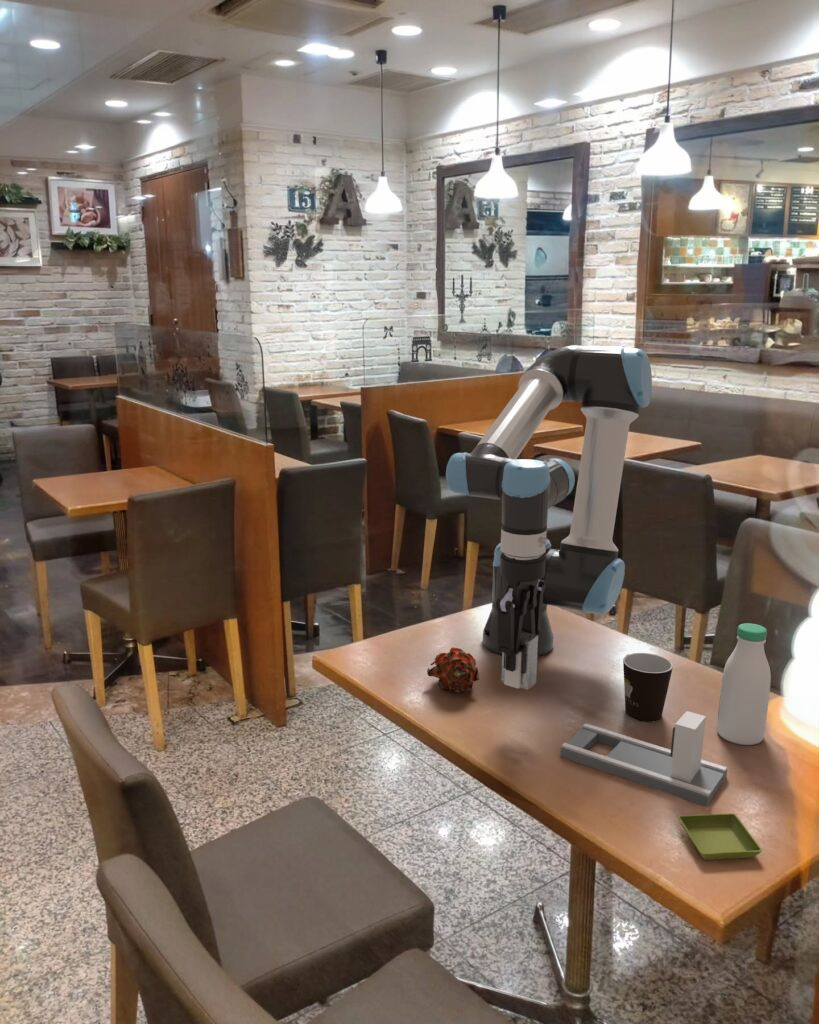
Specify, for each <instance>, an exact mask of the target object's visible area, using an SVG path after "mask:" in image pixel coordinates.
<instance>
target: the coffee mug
mask: <svg viewBox="0 0 819 1024" xmlns="http://www.w3.org/2000/svg"><path fill="white" fill-rule="evenodd" d="M622 663H623V664H622V665H623V687H624V708H625V715H627V716H628V717H629V718H630V719H632V720H635V721H638V722H642V723H653V721H655V722H657V720H658V721H660V720H661V718H662V716H663V712H664V708H665V703H666V700H667V695H668V689H669V686H670V680H671V677H672V673H673V669H674V668H673V667H674V665H673V663H672V661H671V660H670V659H668V658H666V657H664V656H662V655H658V654H656V653H648V652H634V653H630V654H626V655H625V656H624V657H623V659H622Z"/></svg>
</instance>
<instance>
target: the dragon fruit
mask: <svg viewBox="0 0 819 1024" xmlns="http://www.w3.org/2000/svg"><path fill="white" fill-rule="evenodd" d="M432 660H433V659H432ZM432 660H430V661H432ZM434 664H435V666H433V665H434ZM476 665H477V662H476V659H475V658H474V657H473V655H472V654H471V653H469V652H468V653H466V651H464V650H463V649H461V648H458V647H454V646H453V647H451V648H450V649H449V652H440V653H439V654H437V655H436V657H434V661H433V662H432V663H431V664H430V666H433V667H432V668H430V667H429V668H427V669H426V674H427V676H429V677H435V678H436V679H437V678H438V682H437V686H439V687H440V688H441V689H443V690H445V689H449V690H450V691H451V692H453V693H454V692H455V693H463V692H464V691H466V692H468V691H470V690H472V689H473V686H474V682H477V681H478V680H480V675H479V670H478V669H479V668H478V667H477V666H476Z"/></svg>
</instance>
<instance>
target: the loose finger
mask: <svg viewBox="0 0 819 1024" xmlns="http://www.w3.org/2000/svg"><path fill="white" fill-rule="evenodd" d="M537 651H538V635H535V634H531V633H527V632H524V631H521V638H520V646H519V652H522V654H521V681H520V688H521V689H525V690H527V691H528V690H529V689H531V688H532V687H533V686H534V685H536V684H537V674H538V673H537V671H538V669H537V667H538V656H537ZM504 679H505V653H504V652H502V655H501V679H500V681H501V682H502V683H504Z"/></svg>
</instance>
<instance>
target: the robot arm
mask: <svg viewBox="0 0 819 1024" xmlns="http://www.w3.org/2000/svg"><path fill="white" fill-rule="evenodd" d="M652 376H653V375H652V367H651V363H650V359H649V356H648V354H647V353H646V352H645V351H644V350H643V349H641V348H637V347H636V348H635V347H628V346H608V345H607V346H605V345H602V346H601V345H581V344H570V345H566V346H562V347H559V348H556V349H554V350H552V351H550V352H549V353H546V354H545V355H542V356H541V357H540V358H539V359H537V360H536V361H534V362H533V363H532V364H531V365H530V366H529V367H528V368H527V369H526V370H525V371H524V372H523V374H522V375H521V377H520V379H519V381H518V389H517V391H516V392H515V393H514V395H513V396H512V397H511V399H510V400H509V401H508V403H507V404H506V406H505V407H504V408H503V409H502V411H501V412H500V414H499V415H498V416H497V418H496V419H495V421H494V422H493V424H492V425H491V426H490V427H489V428H488V430H487V431H486V433H485V434H484V435H483V437H482V438H481V439H480V441H479V442H478V443H477V445H476V446H475V447H474V449H473V450H472V451H471V452H469V453H468V452H467V451H466V452H457V453H453V454H452V455H451V456H450V458H449V460H448V462H447V465H446V469H445V470H446V471H445V480H446V485H447V488H448V489H449V490H450V491H451V492H452V493H455V494H459V495H460V494H461V495H464V496H468V497H477V498H486V499H493V500H499V501H500V500H501V527H500V529H501V530H500V531H501V532H500V542H499V543H498V544H497V545H496V547H495V548H494V553H493V555H494V556H493V562H492V595H491V597H492V598H491V599H492V602H491V608H490V609H491V610H490V612H489V615H488V618H487V620H486V623H485V625H484V629H483V631H482V644H483V646H484V647H485V648H486V649H487V650H489V651H490V652H493V653H495V654H498V655H501V656H502V652H504V653H505V679H504V682H503V684H504V685H505V686H509V687H511V688H515V689H520V688H521V687H520V681H521V654H522V652H519V646H520V638H521V631H524V632H527V633H531V634H535V635H538V651H537V657H539V656H542V655H545V654H548V653H549V652H551V650H552V649H554V633H553V629H552V625H551V622H550V618H549V615H548V611H547V610H548V609H547V608H548V606H553V607H557V608H563V609H568V610H571V611H572V610H573V611H578V612H579V611H580V612H582V613H584V614H588V613H589V614H596V615H604V614H606V613H609V611H611V610H612V608H613V607H614V605H615V604H616V601H618V598H619V595H620V593H621V590H622V586H623V584H624V579H625V573H626V572H625V570H626V564H625V562H624V561H623V560H622V559H621V558H620V557H619V558H618V555H619V548H618V547H617V546H616V544H615V543H614V542H613V536H614V530H615V523H616V516H617V509H618V502H619V498H620V491H621V485H622V476H623V470H624V465H625V456H626V449H627V444H628V437H629V431H630V425H631V423H633V422H634V421H636V419H638V417H640V416H639V415H640V409H644V408H647V407H648V406H649V405H650V402H651V398H652V393H653V392H652V390H653V377H652ZM564 402H575V403H581V404H580V405H581V406H580V411H581V413H582V414H583V415H584V417H585V418H586V422H585V423H586V424H585V430H584V436H583V442H582V450H581V455H580V463H579V468H578V469H579V470H578V478H577V484H576V490H575V498H574V503H573V504H574V505H573V509H572V518H571V523H570V530H569V534H568V536H566V537H565V538H563V539H562V540H561V542H560V546H559V549H556V548H555V549H554V548H552V544H551V541H550V539H548V538H547V534H548V533H547V532H548V531H547V530H548V517H549V516H548V514H549V509H551V507H554V506H556V505H557V504H558V503H562V501H564V500H565V499H566V498H567V496H569V495H570V494H571V492H572V491H573V490H574V486H575V482H576V478H575V477H576V476H575V473H574V470H573V468H572V467H571V466H570V464H568V462H566V461H564V460H563V459H561V458H547V459H543V460H538V459H529V458H527V459H526V458H525V459H524V458H523V459H522V458H521V459H518V457H519V456H520V454H521V453H522V451H523V450H524V448H525V447H526V446H527V444H528V442H529V441H530V439H531V438H532V437H533V435H534V434H535V432H536V430H537V429H538V427H539V426H540V425H541V423H542V422H543V420H544V419H545V417H546V416H547V414H548V413H549V411H551V410H554V409H556V408H558V407H559V405H560V404H561V403H564Z"/></svg>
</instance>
